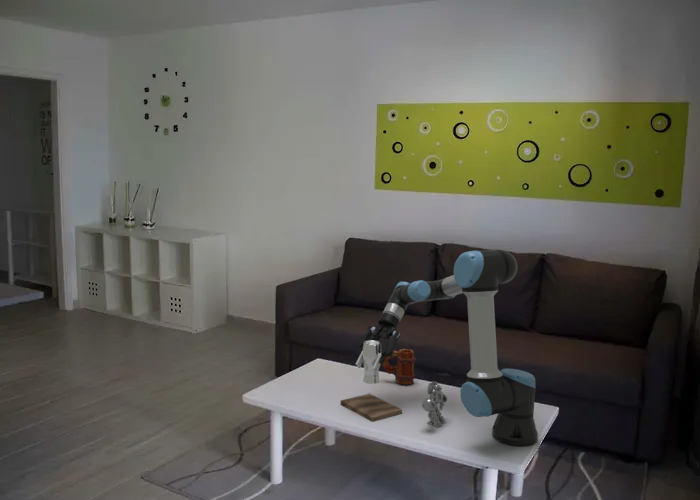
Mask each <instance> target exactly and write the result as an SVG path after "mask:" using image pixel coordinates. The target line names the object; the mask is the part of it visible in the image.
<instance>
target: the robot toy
mask: <svg viewBox="0 0 700 500" xmlns="http://www.w3.org/2000/svg"><path fill="white" fill-rule="evenodd" d="M442 389H443V387H442V386H441V385H440V384H438V382H437V381H436V380H435V381H431V382H429V383H428V386H427V389H426V390H427V394H428V395H429V397H427V398H424V399H423V401H422V403H421V406H422V409H423V410H424V411H426V412H428V413H427V417H428V419H429V421H428V422H426V424H427V425H430V426H433V427H436V428H440V427H442V426H443V425H445V423H446V421H445V420H446V418H444V415H442V412H441V411H443V408H444V407H445V403H446V402H447V401H448V396H447V395H446V394H444V393H443V391H442ZM438 404H439V406H438ZM442 424H443V425H442Z"/></svg>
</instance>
